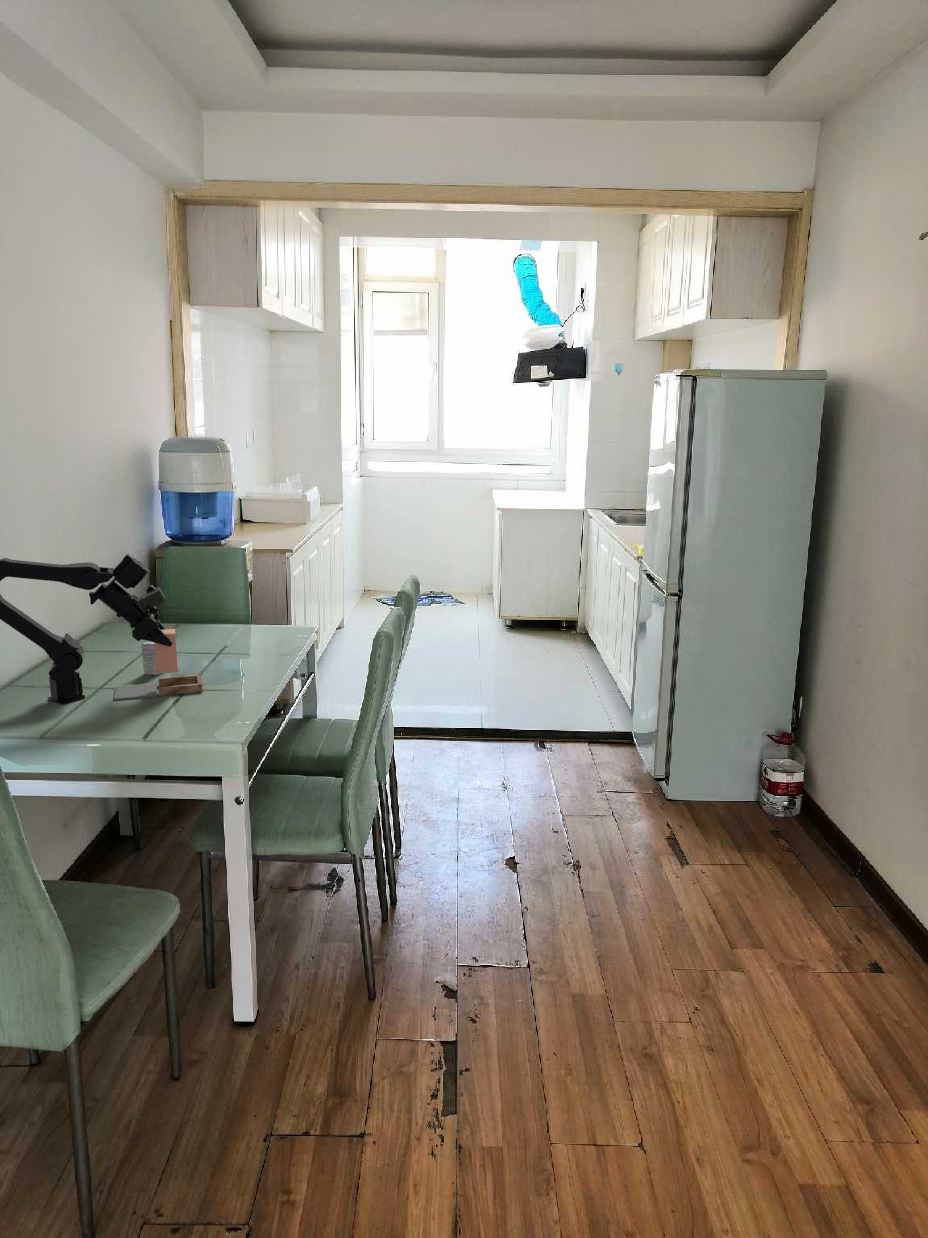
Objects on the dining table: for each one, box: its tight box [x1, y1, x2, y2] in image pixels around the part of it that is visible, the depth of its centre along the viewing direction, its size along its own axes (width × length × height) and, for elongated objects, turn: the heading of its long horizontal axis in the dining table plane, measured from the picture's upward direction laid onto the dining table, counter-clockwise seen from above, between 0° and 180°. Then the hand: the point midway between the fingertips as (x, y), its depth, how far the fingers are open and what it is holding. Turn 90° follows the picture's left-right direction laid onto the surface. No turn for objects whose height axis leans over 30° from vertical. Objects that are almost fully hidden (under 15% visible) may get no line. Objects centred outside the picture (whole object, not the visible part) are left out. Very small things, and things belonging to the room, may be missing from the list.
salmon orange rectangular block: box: [155, 628, 179, 674], centre depth 234 cm, size 5×5×10 cm
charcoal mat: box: [113, 682, 158, 702], centre depth 234 cm, size 10×10×1 cm
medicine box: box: [141, 641, 163, 676], centre depth 252 cm, size 8×4×9 cm, turn 168°
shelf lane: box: [157, 673, 204, 697], centre depth 237 cm, size 10×9×2 cm
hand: (171, 642), depth 234 cm, fingers closed on salmon orange rectangular block, 5 cm apart
